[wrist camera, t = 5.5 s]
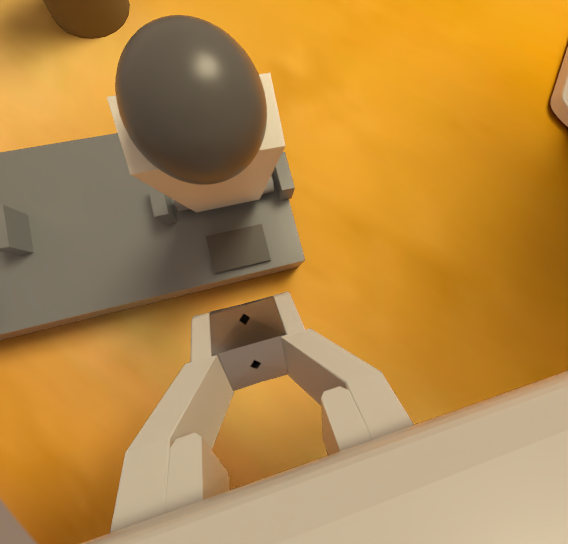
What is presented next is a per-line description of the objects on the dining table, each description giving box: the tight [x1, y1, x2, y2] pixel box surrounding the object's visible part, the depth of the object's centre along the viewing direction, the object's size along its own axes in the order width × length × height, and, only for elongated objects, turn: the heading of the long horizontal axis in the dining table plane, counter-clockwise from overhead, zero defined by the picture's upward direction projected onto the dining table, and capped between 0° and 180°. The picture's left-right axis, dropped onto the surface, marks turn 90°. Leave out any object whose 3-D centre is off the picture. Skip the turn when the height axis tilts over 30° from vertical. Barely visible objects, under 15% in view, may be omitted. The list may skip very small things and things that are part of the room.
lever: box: [107, 15, 285, 213], centre depth 11 cm, size 3×6×13 cm, turn 105°
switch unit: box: [0, 133, 305, 340], centre depth 17 cm, size 11×24×5 cm, turn 105°
